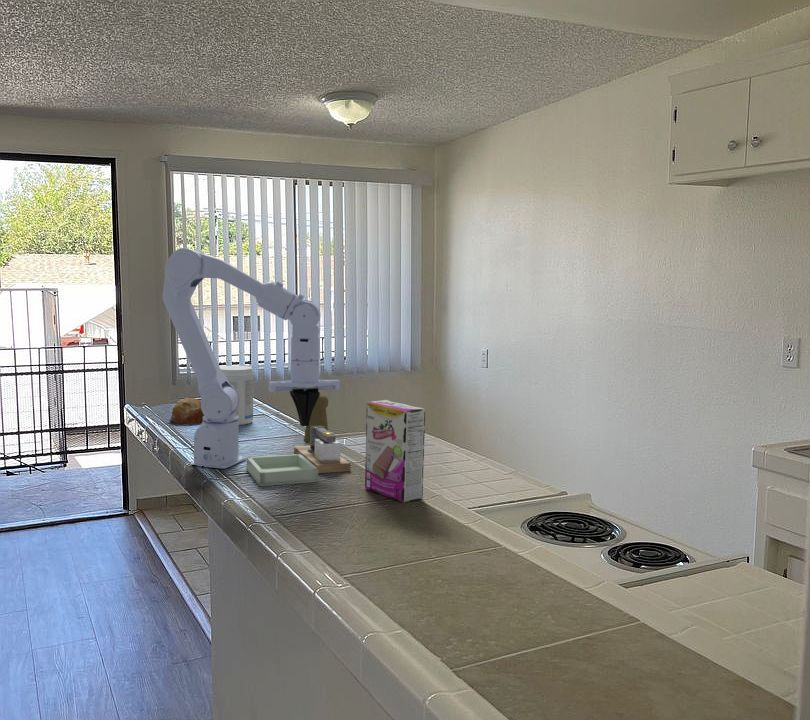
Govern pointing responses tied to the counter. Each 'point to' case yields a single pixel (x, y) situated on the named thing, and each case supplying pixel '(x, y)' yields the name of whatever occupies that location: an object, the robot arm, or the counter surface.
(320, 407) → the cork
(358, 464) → the counter surface
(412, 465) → the candy bar box
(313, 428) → the lever
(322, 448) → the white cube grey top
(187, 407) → the bread roll
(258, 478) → the tray
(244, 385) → the supplement tub
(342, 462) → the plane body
